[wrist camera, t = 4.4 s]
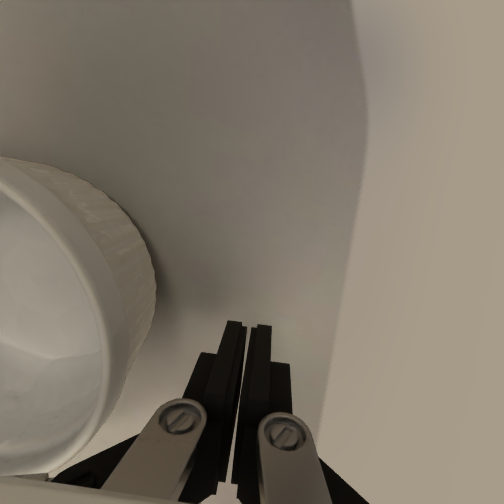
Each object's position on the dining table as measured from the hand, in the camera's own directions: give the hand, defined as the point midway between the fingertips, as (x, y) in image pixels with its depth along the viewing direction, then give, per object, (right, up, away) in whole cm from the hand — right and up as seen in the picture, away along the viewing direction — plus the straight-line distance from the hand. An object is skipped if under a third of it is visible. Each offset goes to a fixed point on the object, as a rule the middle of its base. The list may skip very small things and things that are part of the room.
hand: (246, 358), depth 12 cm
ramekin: (-10, +3, +6) cm, 12 cm away
